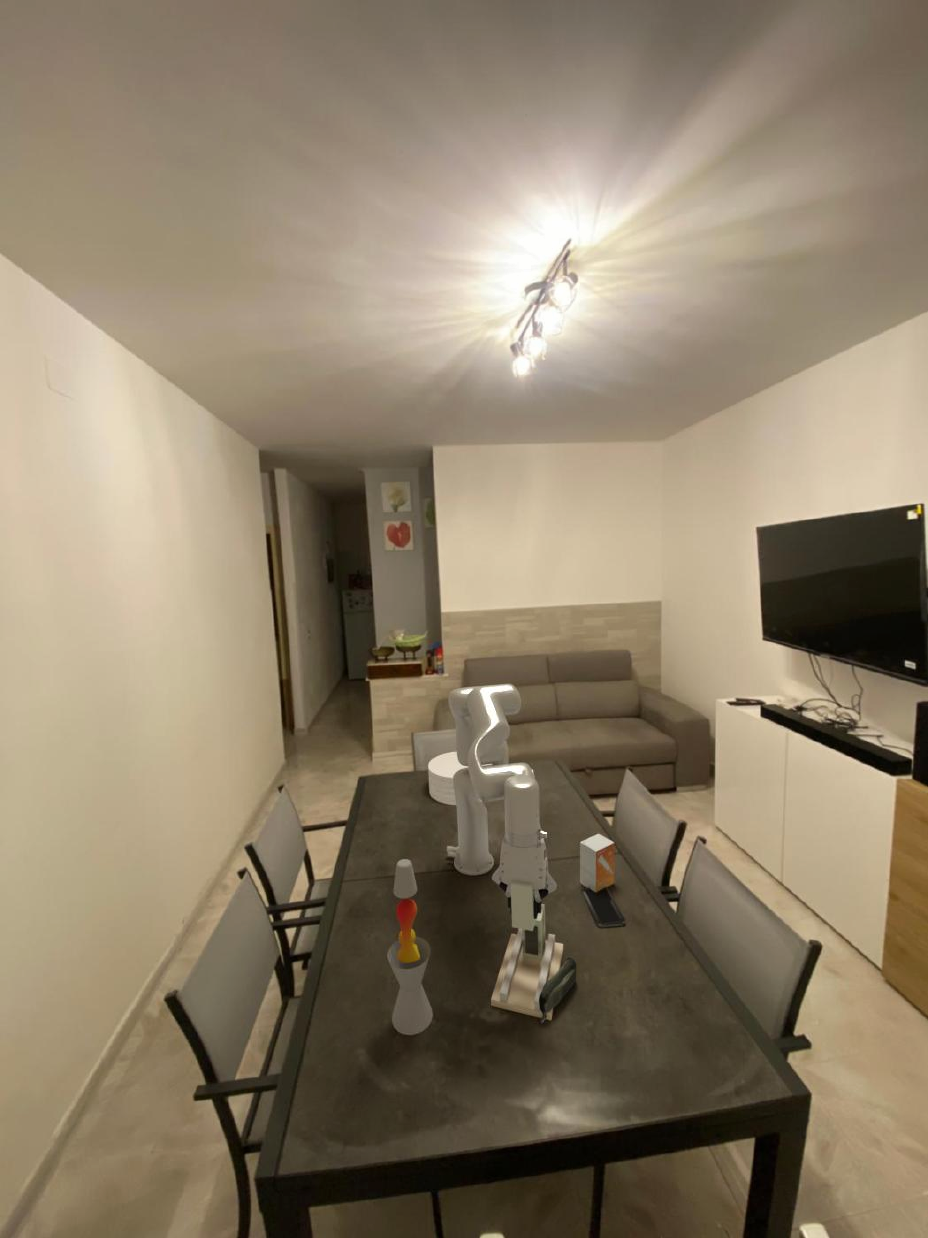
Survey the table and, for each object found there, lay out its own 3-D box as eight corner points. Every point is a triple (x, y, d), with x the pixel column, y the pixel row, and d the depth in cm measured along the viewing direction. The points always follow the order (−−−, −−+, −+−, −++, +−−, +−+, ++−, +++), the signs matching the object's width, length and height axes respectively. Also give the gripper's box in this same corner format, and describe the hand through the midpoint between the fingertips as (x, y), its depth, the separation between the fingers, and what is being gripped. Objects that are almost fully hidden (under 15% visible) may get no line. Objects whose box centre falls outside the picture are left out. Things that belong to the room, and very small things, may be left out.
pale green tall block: (512, 927, 109) (510, 884, 108) (518, 907, 115) (517, 866, 114) (532, 931, 108) (531, 887, 106) (537, 910, 114) (536, 869, 113)
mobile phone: (567, 953, 116) (533, 997, 105) (579, 960, 114) (545, 1005, 103) (566, 973, 117) (532, 1018, 105) (578, 980, 115) (544, 1027, 103)
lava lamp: (438, 1028, 104) (430, 870, 100) (394, 1041, 102) (384, 880, 98) (428, 993, 113) (421, 846, 109) (388, 1004, 110) (379, 855, 106)
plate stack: (428, 778, 225) (426, 753, 224) (489, 773, 228) (489, 748, 227) (430, 808, 197) (429, 780, 196) (501, 802, 200) (500, 774, 199)
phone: (597, 925, 130) (580, 888, 145) (597, 929, 131) (580, 892, 145) (627, 923, 131) (607, 886, 146) (627, 927, 131) (607, 889, 146)
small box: (596, 894, 143) (595, 852, 142) (579, 883, 149) (579, 842, 147) (615, 884, 148) (615, 842, 146) (598, 873, 153) (598, 832, 152)
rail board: (551, 1020, 105) (550, 970, 104) (491, 1005, 109) (489, 957, 108) (563, 949, 124) (562, 906, 123) (511, 939, 128) (510, 897, 127)
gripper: (564, 830, 110) (565, 908, 112) (489, 821, 115) (492, 895, 117) (559, 849, 103) (561, 932, 105) (480, 838, 108) (483, 917, 110)
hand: (524, 911), depth 111 cm, fingers closed on pale green tall block, 4 cm apart
